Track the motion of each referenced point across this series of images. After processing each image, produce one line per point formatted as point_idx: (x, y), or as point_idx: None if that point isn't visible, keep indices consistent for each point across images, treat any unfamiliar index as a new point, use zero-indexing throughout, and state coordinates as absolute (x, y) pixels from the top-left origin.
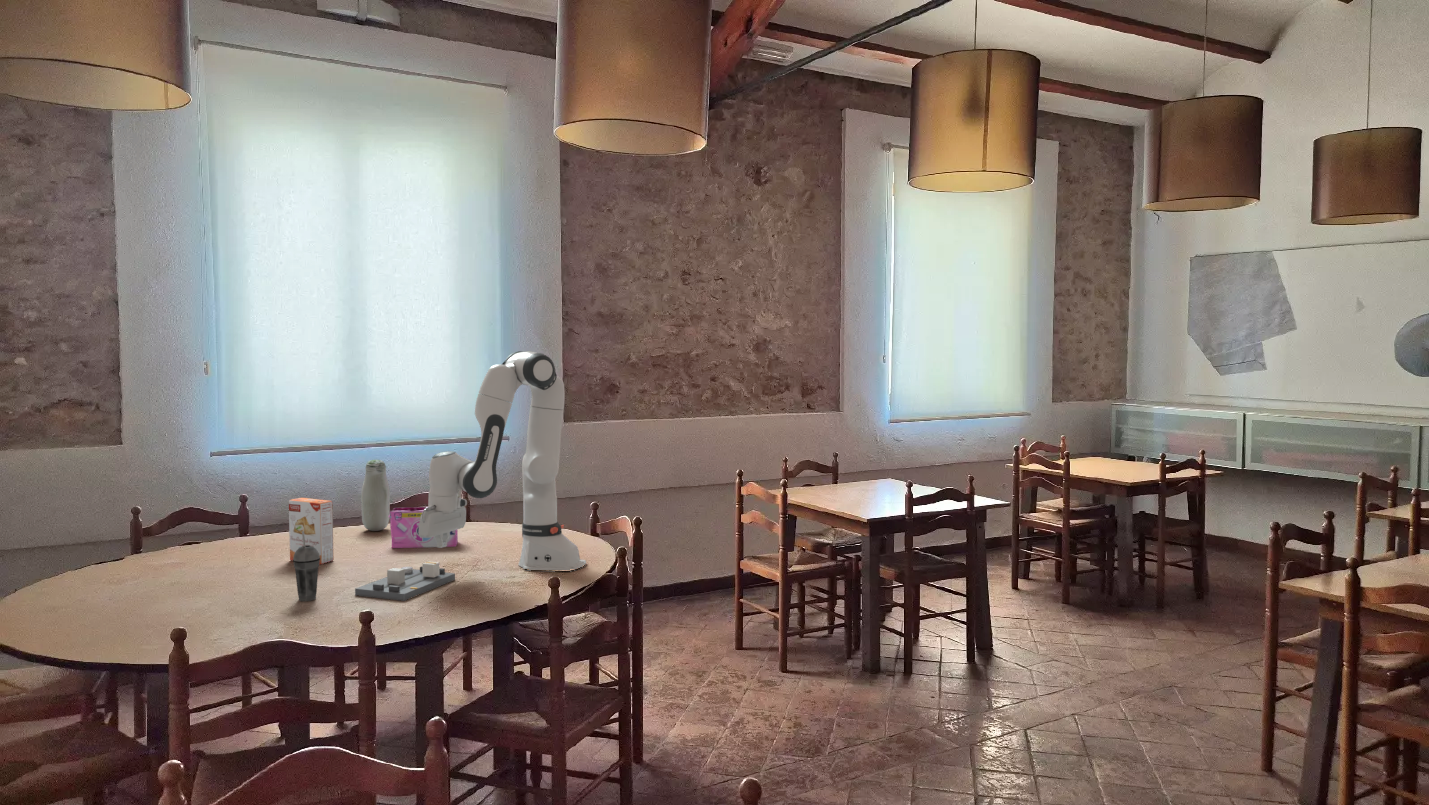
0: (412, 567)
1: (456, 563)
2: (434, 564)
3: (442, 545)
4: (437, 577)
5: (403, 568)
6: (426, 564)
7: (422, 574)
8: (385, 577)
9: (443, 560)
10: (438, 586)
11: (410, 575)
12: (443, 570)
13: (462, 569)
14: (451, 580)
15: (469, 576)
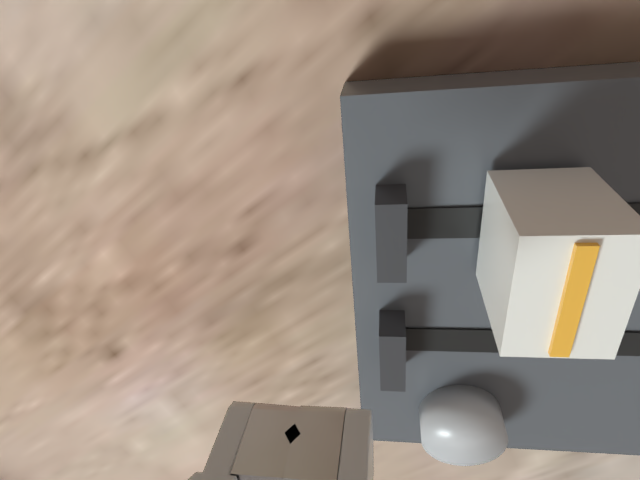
0: (435, 421)
1: (24, 329)
2: (635, 233)
3: (351, 431)
4: (538, 154)
5: (482, 450)
6: (628, 314)
7: (471, 314)
8: (612, 453)
9: (40, 406)
10: (619, 63)
11: (523, 365)
12: (397, 198)
13: (84, 224)
14: (400, 80)
15: (190, 37)
